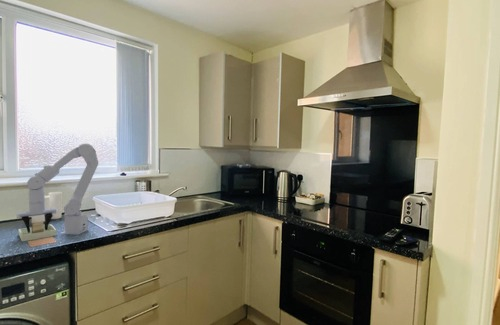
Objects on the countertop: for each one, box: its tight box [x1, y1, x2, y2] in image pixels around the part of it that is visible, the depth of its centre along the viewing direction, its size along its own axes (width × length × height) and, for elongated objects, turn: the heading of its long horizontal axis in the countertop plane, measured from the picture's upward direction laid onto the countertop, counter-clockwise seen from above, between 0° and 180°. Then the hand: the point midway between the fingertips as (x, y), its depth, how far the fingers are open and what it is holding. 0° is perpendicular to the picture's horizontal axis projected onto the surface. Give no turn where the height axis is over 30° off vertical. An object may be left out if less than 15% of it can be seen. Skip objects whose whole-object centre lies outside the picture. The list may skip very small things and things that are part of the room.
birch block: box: [30, 221, 45, 234], centre depth 128 cm, size 4×4×6 cm
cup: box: [30, 195, 50, 223], centre depth 150 cm, size 8×8×14 cm
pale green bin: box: [18, 223, 58, 242], centre depth 128 cm, size 13×13×3 cm
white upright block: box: [47, 191, 64, 220], centre depth 159 cm, size 7×7×15 cm
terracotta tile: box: [27, 236, 57, 248], centre depth 120 cm, size 9×9×1 cm
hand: (37, 230), depth 128 cm, fingers open, 6 cm apart
